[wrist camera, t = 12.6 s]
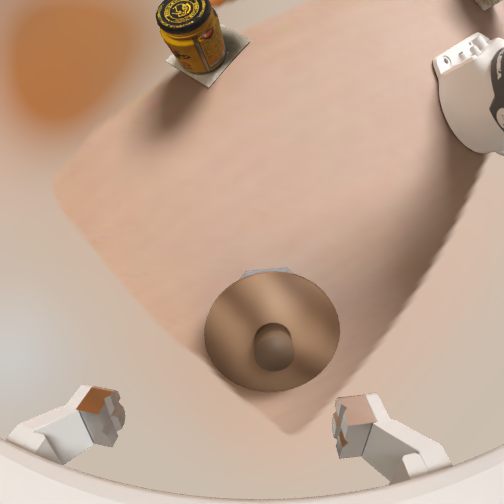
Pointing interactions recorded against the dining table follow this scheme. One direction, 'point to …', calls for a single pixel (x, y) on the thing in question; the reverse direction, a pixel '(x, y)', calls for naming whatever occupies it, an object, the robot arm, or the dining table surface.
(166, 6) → the condiment
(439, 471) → the robot arm
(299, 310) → the lid
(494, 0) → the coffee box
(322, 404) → the dining table surface
